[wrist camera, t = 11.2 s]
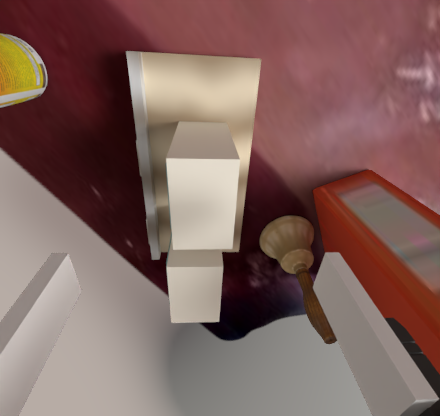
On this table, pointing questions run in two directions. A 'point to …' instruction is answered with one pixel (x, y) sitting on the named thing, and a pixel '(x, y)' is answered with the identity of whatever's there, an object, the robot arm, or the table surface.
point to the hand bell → (297, 263)
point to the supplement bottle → (19, 71)
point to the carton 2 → (194, 284)
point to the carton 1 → (202, 186)
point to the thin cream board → (188, 112)
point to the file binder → (387, 250)
